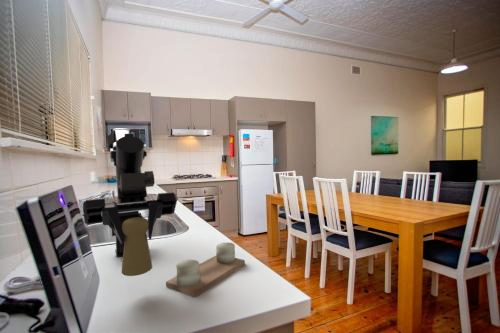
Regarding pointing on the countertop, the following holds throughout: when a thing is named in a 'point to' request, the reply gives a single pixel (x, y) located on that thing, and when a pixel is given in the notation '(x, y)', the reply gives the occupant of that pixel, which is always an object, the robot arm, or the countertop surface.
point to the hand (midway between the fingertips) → (136, 240)
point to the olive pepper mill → (136, 247)
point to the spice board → (205, 271)
